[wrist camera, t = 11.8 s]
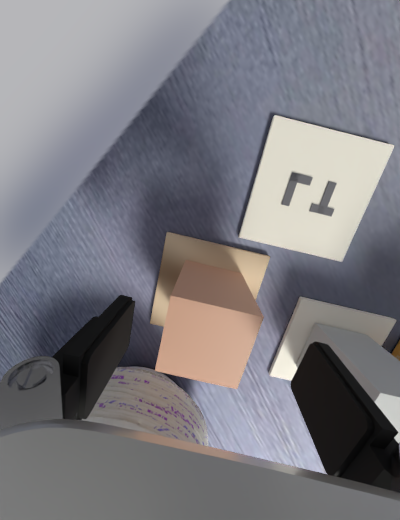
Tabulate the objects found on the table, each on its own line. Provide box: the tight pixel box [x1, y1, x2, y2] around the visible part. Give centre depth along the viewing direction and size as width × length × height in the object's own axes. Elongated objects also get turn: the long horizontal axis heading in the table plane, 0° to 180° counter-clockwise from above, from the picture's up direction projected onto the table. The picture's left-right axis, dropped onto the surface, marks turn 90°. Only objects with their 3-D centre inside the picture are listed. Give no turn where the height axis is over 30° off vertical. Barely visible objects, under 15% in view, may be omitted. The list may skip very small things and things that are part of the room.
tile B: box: [269, 296, 397, 381], centre depth 19 cm, size 9×9×1 cm
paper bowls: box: [82, 366, 208, 446], centre depth 18 cm, size 15×15×8 cm
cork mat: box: [150, 232, 270, 327], centre depth 18 cm, size 9×9×1 cm
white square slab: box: [238, 115, 394, 262], centre depth 15 cm, size 9×9×1 cm
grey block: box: [296, 323, 400, 443], centre depth 15 cm, size 5×5×7 cm
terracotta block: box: [155, 260, 264, 389], centre depth 14 cm, size 5×5×7 cm
